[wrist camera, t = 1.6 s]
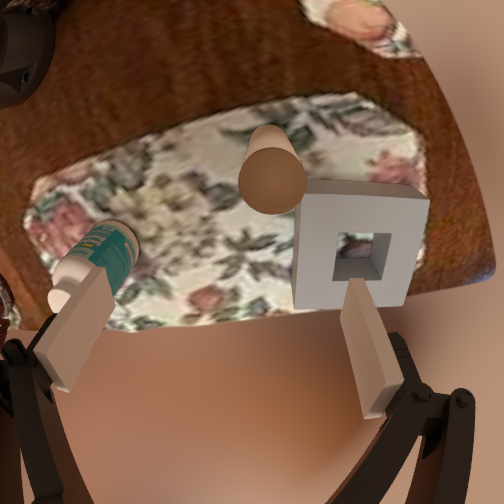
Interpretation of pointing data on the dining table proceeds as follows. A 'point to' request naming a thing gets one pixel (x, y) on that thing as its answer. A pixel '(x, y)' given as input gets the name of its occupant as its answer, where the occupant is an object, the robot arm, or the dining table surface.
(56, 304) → the pill bottle
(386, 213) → the socket
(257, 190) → the peg
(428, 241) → the dining table surface
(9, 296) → the mug
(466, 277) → the dining table surface
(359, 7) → the dining table surface
